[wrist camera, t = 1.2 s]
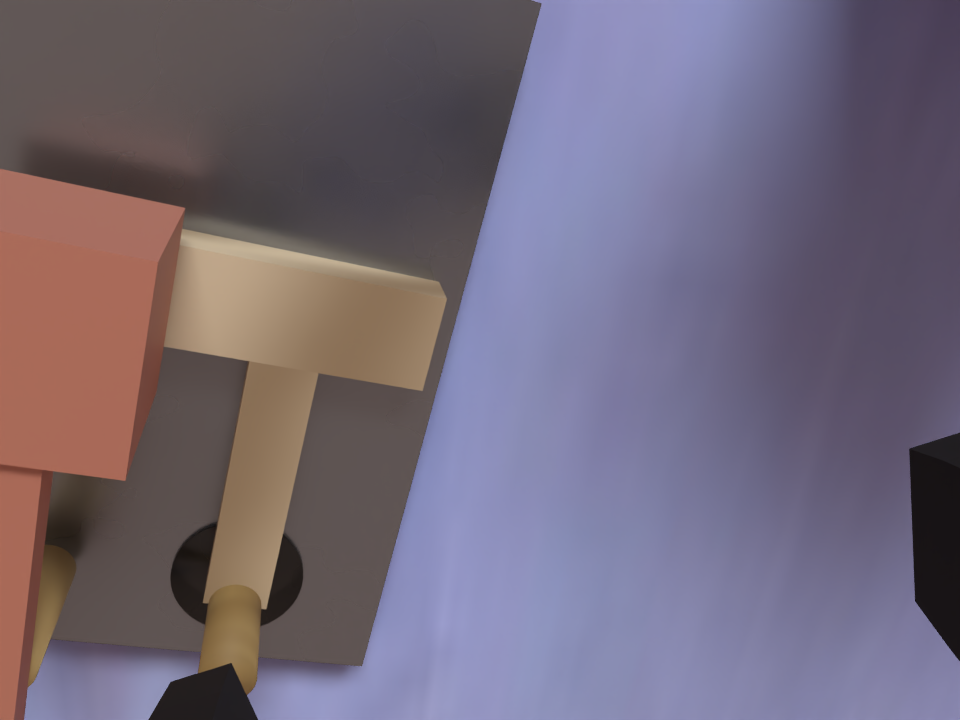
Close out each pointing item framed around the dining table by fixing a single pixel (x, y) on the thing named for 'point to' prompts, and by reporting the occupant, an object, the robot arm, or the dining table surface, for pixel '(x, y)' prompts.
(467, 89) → the bolt plate
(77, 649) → the dining table surface
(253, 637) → the beam
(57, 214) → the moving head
